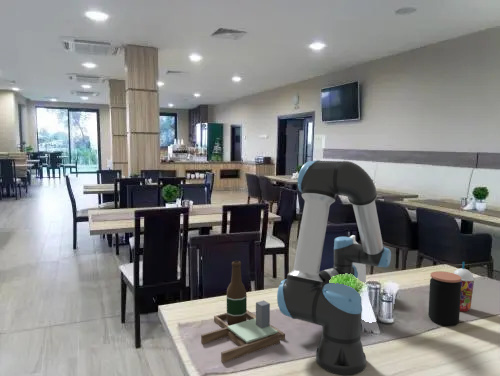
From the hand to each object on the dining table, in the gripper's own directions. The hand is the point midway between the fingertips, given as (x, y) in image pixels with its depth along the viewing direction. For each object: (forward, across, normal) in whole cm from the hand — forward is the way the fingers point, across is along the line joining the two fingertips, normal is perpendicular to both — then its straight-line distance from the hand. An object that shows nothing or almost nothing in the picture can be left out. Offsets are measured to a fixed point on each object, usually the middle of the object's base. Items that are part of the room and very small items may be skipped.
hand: (279, 293), depth 138 cm
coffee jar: (-58, -29, -15) cm, 66 cm away
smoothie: (-75, -27, -15) cm, 81 cm away
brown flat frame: (+16, +6, -14) cm, 21 cm away
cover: (+12, 0, -10) cm, 16 cm away
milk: (-53, +13, -15) cm, 56 cm away
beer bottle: (+10, +13, -14) cm, 22 cm away
